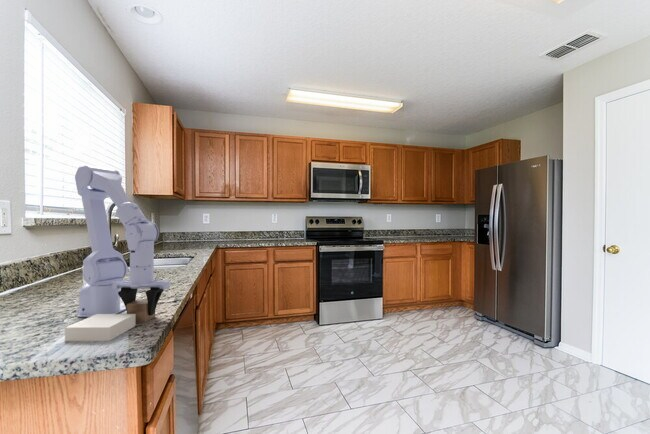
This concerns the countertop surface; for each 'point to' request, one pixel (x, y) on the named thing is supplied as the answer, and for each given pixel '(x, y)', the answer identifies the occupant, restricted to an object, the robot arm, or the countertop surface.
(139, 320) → the walnut cube
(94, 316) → the cream plinth
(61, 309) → the countertop surface
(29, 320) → the countertop surface
